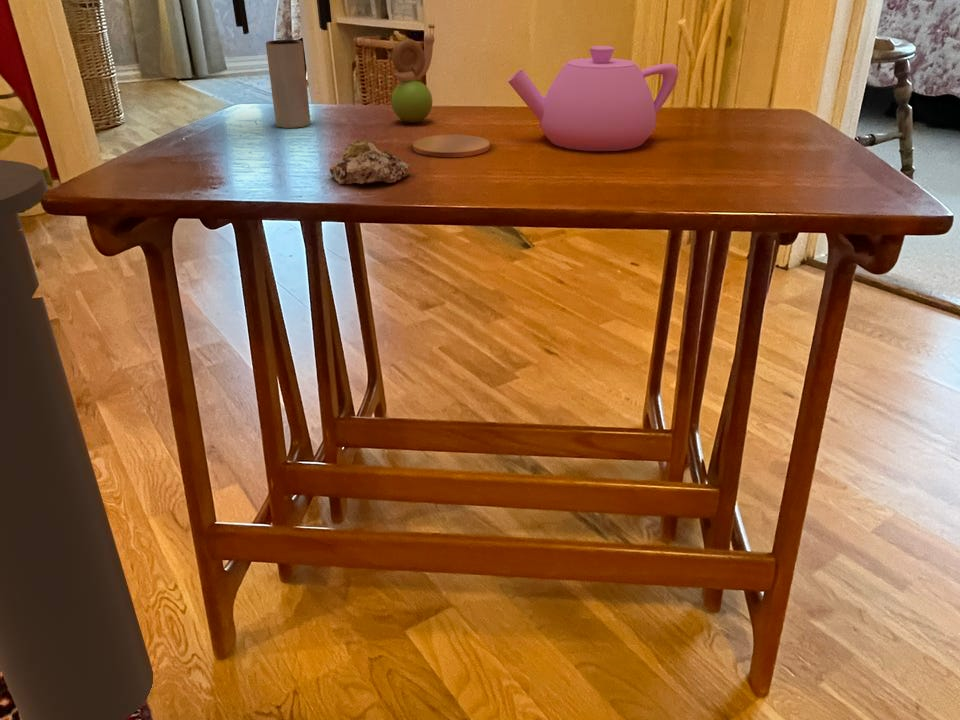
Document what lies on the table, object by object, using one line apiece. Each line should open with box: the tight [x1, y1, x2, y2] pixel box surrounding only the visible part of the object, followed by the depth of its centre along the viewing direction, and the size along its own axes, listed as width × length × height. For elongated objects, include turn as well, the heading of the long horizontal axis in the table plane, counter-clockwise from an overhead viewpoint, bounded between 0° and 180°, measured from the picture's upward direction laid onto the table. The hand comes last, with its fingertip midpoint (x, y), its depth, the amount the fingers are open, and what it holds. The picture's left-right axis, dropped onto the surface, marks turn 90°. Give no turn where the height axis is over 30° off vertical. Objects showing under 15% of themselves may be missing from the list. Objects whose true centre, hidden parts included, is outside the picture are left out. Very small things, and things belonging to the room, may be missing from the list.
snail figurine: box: [390, 23, 436, 124], centre depth 102 cm, size 5×6×12 cm
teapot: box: [507, 45, 680, 152], centre depth 93 cm, size 14×20×11 cm
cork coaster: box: [412, 134, 491, 158], centre depth 92 cm, size 9×9×1 cm
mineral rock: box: [328, 139, 411, 185], centre depth 81 cm, size 11×4×8 cm
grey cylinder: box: [265, 39, 311, 129], centre depth 102 cm, size 4×4×10 cm
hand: (285, 31), depth 99 cm, fingers open, 9 cm apart
